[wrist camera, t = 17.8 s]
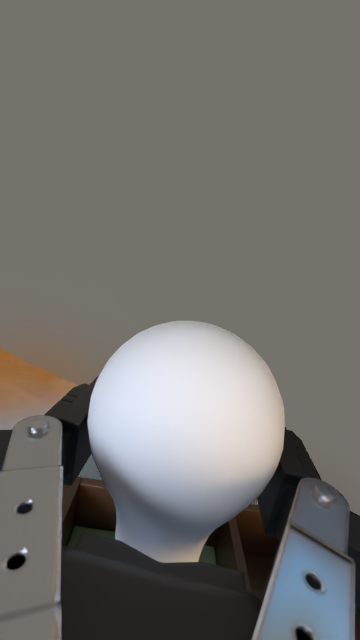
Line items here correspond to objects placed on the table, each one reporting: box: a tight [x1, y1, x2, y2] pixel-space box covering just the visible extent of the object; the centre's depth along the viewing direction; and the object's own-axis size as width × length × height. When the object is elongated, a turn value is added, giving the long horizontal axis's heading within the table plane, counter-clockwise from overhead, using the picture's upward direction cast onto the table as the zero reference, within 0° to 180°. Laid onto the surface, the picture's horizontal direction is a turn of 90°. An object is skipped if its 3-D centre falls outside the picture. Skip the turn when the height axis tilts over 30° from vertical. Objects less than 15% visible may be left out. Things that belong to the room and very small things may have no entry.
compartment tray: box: [61, 477, 360, 640], centre depth 12 cm, size 25×8×3 cm, turn 90°
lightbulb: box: [87, 321, 285, 563], centre depth 10 cm, size 6×6×11 cm
